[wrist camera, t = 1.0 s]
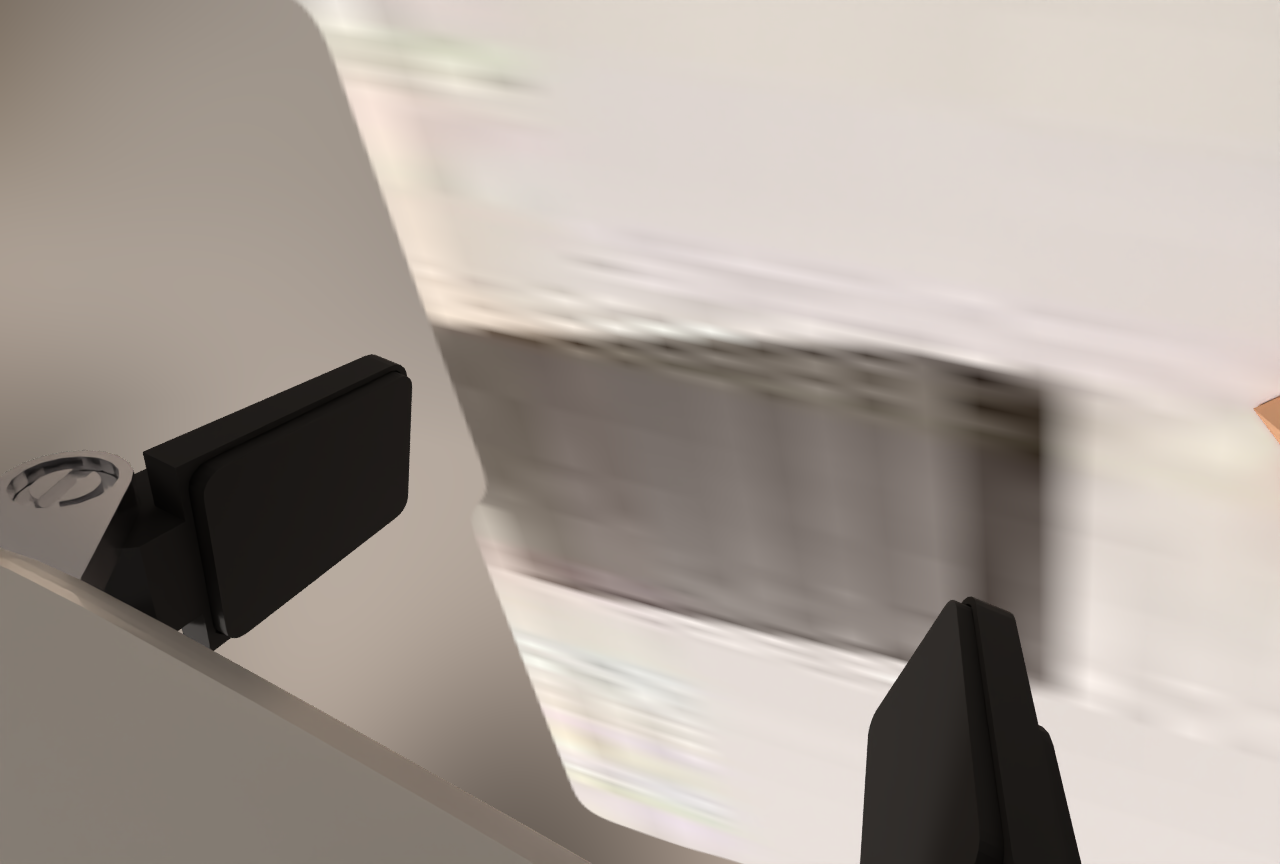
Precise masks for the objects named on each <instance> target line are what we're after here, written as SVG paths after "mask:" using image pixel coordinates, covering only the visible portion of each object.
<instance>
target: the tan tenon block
mask: <svg viewBox="0 0 1280 864" xmlns="http://www.w3.org/2000/svg"><path fill="white" fill-rule="evenodd" d="M1253 409H1254V410H1255V411H1256V413H1257V414H1258V415H1259V417H1260V418H1261V419H1262V421H1263V422H1264V424H1265V425H1266V426H1267V428H1268V429H1269V430H1270V432H1271V433H1272V434H1273V436H1274V437H1275V438H1276V440H1277V441H1278V442H1279V444H1280V397H1278V398H1276V399H1274V400H1271V401H1269V402H1267V403H1265V404H1262V405H1260V406H1258V407H1256V408H1253Z"/></svg>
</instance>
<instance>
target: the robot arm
mask: <svg viewBox="0 0 1280 864" xmlns="http://www.w3.org/2000/svg"><path fill="white" fill-rule="evenodd" d="M411 401H412V382H411V380H410V378H408V377H407V374H406V371H405V368H404V367H402V366H401V365H399V364H397V363H394V362H392V361H389V360H387V359H384V358H382V357H379V356H377V355H372V354H371V355H367V356H364V357H362V358H359V359H357V360H355V361H352V362H350V363H348V364H346V365H343V366H341V367H339V368H336V369H334V370H332V371H329V372H327V373H325V374H322V375H320V376H318V377H315V378H313V379H311V380H308V381H306V382H304V383H302V384H299V385H297V386H295V387H292V388H290V389H288V390H285V391H283V392H281V393H278V394H276V395H274V396H271V397H269V398H267V399H264V400H262V401H260V402H258V403H255V404H253V405H250V406H248V407H246V408H244V409H241V410H239V411H237V412H234V413H232V414H230V415H227V416H225V417H223V418H220V419H218V420H216V421H213V422H211V423H209V424H206V425H204V426H202V427H200V428H198V429H195V430H192V431H190V432H188V433H185V434H183V435H181V436H179V437H176V438H174V439H172V440H169V441H167V442H165V443H162V444H160V445H158V446H155V447H153V448H151V449H148V450H146V451H144V452H143V456H144V460H145V465H146V469H145V470H143V471H140V472H138V473H136V474H134V471H133V469H132V467H131V465H130V463H129V462H128V461H126V460H125V459H123V458H121V457H120V456H118V455H114V454H111V453H107V452H101V451H88V450H82V451H69V452H68V451H67V452H60V453H55V454H50V455H45V456H41V457H39V458H35V459H33V460H30V461H27V462H24V463H22V464H20V465H18V466H16V467H14V468H12V469H10V470H8V471H6V472H5V473H4V474H3V475H2V476H0V864H592V863H590V862H589V861H587V860H585V859H583V858H582V857H580V856H578V855H576V854H575V853H573V852H571V851H569V850H568V849H566V848H564V847H562V846H560V845H559V844H557V843H555V842H553V841H551V840H550V839H548V838H546V837H545V836H543V835H541V834H539V833H537V832H536V831H534V830H532V829H531V828H529V827H527V826H525V825H524V824H522V823H520V822H518V821H517V820H515V819H513V818H511V817H509V816H508V815H506V814H504V813H502V812H501V811H499V810H497V809H495V808H493V807H492V806H490V805H488V804H486V803H485V802H483V801H481V800H479V799H477V798H476V797H474V796H472V795H470V794H468V793H467V792H465V791H463V790H461V789H460V788H458V787H456V786H454V785H453V784H451V783H449V782H447V781H445V780H443V779H442V778H440V777H438V776H437V775H435V774H433V773H431V772H429V771H428V770H426V769H424V768H422V767H421V766H419V765H417V764H415V763H413V762H412V761H410V760H408V759H406V758H404V757H403V756H401V755H399V754H397V753H396V752H394V751H392V750H390V749H389V748H387V747H385V746H383V745H381V744H380V743H378V742H376V741H374V740H372V739H371V738H369V737H367V736H365V735H363V734H362V733H360V732H358V731H356V730H355V729H353V728H351V727H349V726H347V725H346V724H344V723H342V722H340V721H339V720H337V719H335V718H333V717H331V716H330V715H328V714H326V713H324V712H322V711H321V710H319V709H317V708H315V707H314V706H312V705H310V704H308V703H306V702H305V701H303V700H301V699H299V698H297V697H296V696H294V695H292V694H290V693H288V692H286V691H285V690H283V689H281V688H279V687H277V686H276V685H274V684H272V683H270V682H268V681H267V680H265V679H263V678H261V677H259V676H258V675H256V674H254V673H252V672H250V671H249V670H247V669H245V668H243V667H241V666H240V665H238V664H236V663H234V662H232V661H230V660H229V659H227V658H225V657H223V656H221V655H220V654H218V653H216V652H214V650H215V649H217V648H218V647H219V646H221V645H222V644H223V643H225V642H226V641H227V640H229V639H230V638H238V637H241V636H243V635H244V634H246V633H247V632H249V631H250V630H252V629H253V628H254V627H255V626H256V625H258V624H259V623H261V622H262V621H263V620H264V619H266V618H267V617H268V616H269V615H271V614H272V613H273V612H274V611H276V610H277V609H279V608H280V607H281V606H283V605H284V604H285V603H286V602H288V601H289V600H290V599H291V598H293V597H294V596H295V595H297V594H298V593H299V592H301V591H302V590H303V589H304V588H306V587H307V586H308V585H310V584H311V583H312V582H314V581H315V580H316V579H317V578H319V577H320V576H321V575H322V574H324V573H325V572H326V571H328V570H329V569H330V568H332V567H333V566H334V565H336V564H337V563H338V562H339V561H341V560H342V559H343V558H345V557H346V556H347V555H348V554H350V553H351V552H352V551H354V550H355V549H356V548H357V547H359V546H360V545H361V544H362V543H364V542H365V541H367V540H368V539H369V538H370V537H372V536H373V535H374V534H376V533H377V532H378V531H379V530H381V529H382V528H383V527H385V526H386V525H387V524H388V523H390V522H391V521H392V520H394V519H395V518H396V517H397V516H398V515H399V514H400V513H401V512H402V511H403V509H404V507H405V506H406V503H407V499H408V481H409V455H410V454H409V453H410V428H411ZM180 629H182V631H183V634H182V633H180V632H178V631H179V630H180ZM860 864H1081V860H1080V856H1079V852H1078V848H1077V843H1076V839H1075V835H1074V831H1073V826H1072V822H1071V818H1070V814H1069V810H1068V805H1067V801H1066V797H1065V793H1064V788H1063V784H1062V780H1061V776H1060V771H1059V767H1058V763H1057V759H1056V755H1055V750H1054V746H1053V743H1052V740H1051V738H1050V735H1049V733H1048V732H1047V731H1046V730H1045V729H1044V728H1043V727H1042V726H1039V725H1038V721H1037V717H1036V712H1035V707H1034V703H1033V698H1032V694H1031V689H1030V685H1029V680H1028V676H1027V671H1026V666H1025V662H1024V657H1023V653H1022V648H1021V644H1020V639H1019V635H1018V630H1017V626H1016V621H1015V618H1014V616H1013V614H1012V613H1010V612H1008V611H1006V610H1003V609H1001V608H998V607H996V606H993V605H991V604H989V603H986V602H984V601H981V600H979V599H976V598H974V597H967V598H966V599H965V600H963V602H962V603H960V602H957V601H955V600H950V601H949V602H948V603H947V604H946V605H945V607H944V608H943V610H942V611H941V613H940V614H939V616H938V617H937V619H936V621H935V622H934V624H933V625H932V627H931V628H930V630H929V631H928V633H927V634H926V636H925V637H924V639H923V640H922V642H921V643H920V645H919V646H918V648H917V649H916V651H915V652H914V654H913V655H912V657H911V659H910V660H909V662H908V663H907V665H906V666H905V668H904V669H903V671H902V672H901V674H900V675H899V677H898V678H897V680H896V681H895V683H894V684H893V686H892V687H891V689H890V690H889V692H888V694H887V695H886V697H885V698H884V700H883V701H882V703H881V704H880V706H879V707H878V709H877V710H876V712H875V714H874V716H873V718H872V721H871V724H870V728H869V733H868V745H867V761H866V777H865V793H864V809H863V826H862V842H861V858H860Z"/></svg>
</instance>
